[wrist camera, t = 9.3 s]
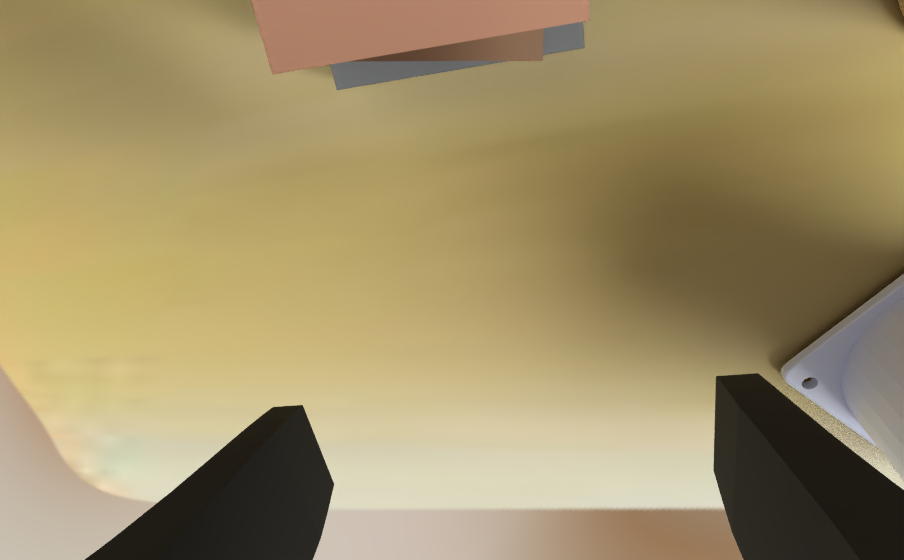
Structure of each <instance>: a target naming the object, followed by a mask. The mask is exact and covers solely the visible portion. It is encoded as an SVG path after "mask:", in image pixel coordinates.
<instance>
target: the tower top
mask: <svg viewBox="0 0 904 560" xmlns="http://www.w3.org/2000/svg"><path fill="white" fill-rule="evenodd" d="M543 39H544V28H542V29H536V30H530V31H524V32H519V33H513V34H507V35H501V36H495V37H489V38H483V39H477V40H471V41H466V42H460V43H454V44H448V45H442V46H436V47H430V48H424V49H419V50H413V51H407V52H401V53H395V54H389V55H383V56H377V57H371V58H366V59H360V60H354V61H348V62H358V61H542V58H543Z"/></svg>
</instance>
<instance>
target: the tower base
mask: <svg viewBox="0 0 904 560" xmlns="http://www.w3.org/2000/svg"><path fill="white" fill-rule="evenodd" d="M581 48H585V47H584V30H583V22H577V23H572V24H566V25H560V26H554V27H548V28H544V39H543V55H546V54H552V53H558V52H564V51H569V50H575V49H581ZM499 62H505V61H358V62H342V63H336V64H331V68H332V72H333V76H334V80H335V84H336V88H337V90H341V89H347V88H352V87H358V86H364V85H370V84H376V83H382V82H388V81H393V80H399V79H405V78H411V77H417V76H423V75H429V74H435V73H440V72H446V71H452V70H458V69H464V68H470V67H476V66H481V65H487V64H493V63H499Z"/></svg>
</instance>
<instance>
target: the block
mask: <svg viewBox="0 0 904 560" xmlns="http://www.w3.org/2000/svg"><path fill="white" fill-rule="evenodd" d="M251 2H252V5H253V9H254V12H255V16H256V19H257V23H258V26H259V29H260V33H261V36H262V40H263V43H264V47H265V50H266V53H267V57H268V60H269V64H270V67H271V71H272V74H277V73H283V72H289V71H295V70H301V69H307V68H313V67H318V66H324V65H330V64H336V63H342V62H348V61H354V60H360V59H366V58H371V57H377V56H383V55H389V54H395V53H401V52H407V51H413V50H419V49H424V48H430V47H436V46H442V45H448V44H454V43H460V42H466V41H471V40H477V39H483V38H489V37H495V36H501V35H507V34H513V33H519V32H524V31H530V30H536V29H542V28H548V27H554V26H560V25H566V24H572V23H577V22H583V21H589V20H590V17H589V0H251Z"/></svg>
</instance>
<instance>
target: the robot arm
mask: <svg viewBox="0 0 904 560" xmlns="http://www.w3.org/2000/svg"><path fill="white" fill-rule="evenodd" d="M781 376H782V377H783V379H784V380H785V381H786V383H787V384H788V385H790V386H791V387H793V388H794V389H796V390H797V391H798V392H800V393H801V394H803V395H804V396H805V397H807V398H808V399H810V400H811V401H812V402H814V403H815V404H817V405H818V406H819V407H821V408H822V409H824V410H825V411H826V412H828V413H829V414H831V415H832V416H833V417H835V418H836V419H838V420H839V421H841V422H842V423H843V424H845V425H846V426H848V427H849V428H850V429H852V430H853V431H855V432H856V433H857V434H859V435H860V436H862V437H863V438H864V439H866V440H867V441H869V442H870V443H871V444H873V445H874V446H876V447H877V448H879V450H880V451H881V452H882V453H883V455H884V456H885V457H886V459H887V460H888V461H889V463H890V464H891V465H892V467H893V468H894V469H895V470H896V472H897V473H898V474H899V476H900V477H901V478H902V480H903V481H904V274H903V275H901V276H900V277H899V278H897V279H896V280H895V281H893V282H892V283H891V284H889V285H888V286H887V287H885V288H884V289H883V290H881V291H880V292H879V293H878V294H876V295H875V296H874V297H872V298H871V299H870V300H868V301H867V302H866V303H864V304H863V305H862V306H860V307H859V308H858V309H856V310H855V311H854V312H853V313H851V314H850V315H849V316H847V317H846V318H845V319H843V320H842V321H841V322H839V323H838V324H837V325H835V326H834V327H833V328H831V329H830V330H829V331H828V332H826V333H825V334H824V335H822V336H821V337H820V338H818V339H817V340H816V341H814V342H813V343H812V344H810V345H809V346H808V347H806V348H805V349H804V350H803V351H801V352H800V353H799V354H797V355H796V356H795V357H793V358H792V359H791V360H789V361H788V362H787V363H786V364H785V365H784V366H783V367H782V369H781ZM812 377H813V378H812ZM807 378H812V379H811V380H810V381H808V382H803V381H804V380H805V379H807ZM714 473H715V476H716V480H717V483H718V487H719V490H720V494H721V497H722V501H723V504H724V507H725V510H726V514H727V517H728V520H729V523H730V526H731V530H732V533H733V535H734V538H735V540H736V542H737V545H738V547H739V550H740V552H741V554H742V557H743V559H744V560H904V490H903V489H902V488H900V487H899V486H897V485H896V484H895V483H893V482H892V481H891V480H890V479H888V478H887V477H886V476H884V475H883V474H882V473H880V472H879V471H878V470H877V469H875V468H874V467H873V466H871V465H870V464H869V463H868V462H866V461H865V460H864V459H862V458H861V457H860V456H858V455H857V454H856V453H855V452H853V451H852V450H851V449H849V448H848V447H847V446H846V445H844V444H843V443H842V442H841V441H839V440H838V439H837V438H836V437H834V436H833V435H832V434H831V433H829V432H828V431H827V430H826V429H825V428H823V427H822V426H821V425H820V424H818V423H817V422H816V421H815V420H814V419H812V418H811V417H810V416H809V415H807V414H806V413H805V412H804V411H803V410H801V409H800V408H799V407H798V406H797V405H795V404H794V403H793V402H792V401H791V400H789V399H788V398H787V397H786V396H785V395H784V394H782V393H781V392H780V391H779V390H778V389H776V388H775V387H774V386H773V385H771V384H770V383H769V382H768V381H767V380H765V379H764V378H763V377H762V376H760V375H759V374H758V373H757V374H742V375H728V376H716V400H715V438H714ZM333 486H334V483H333V480H332V478H331V475H330V473H329V470H328V468H327V465H326V463H325V460H324V458H323V455H322V453H321V450H320V448H319V445H318V443H317V440H316V438H315V435H314V433H313V430H312V428H311V425H310V423H309V420H308V418H307V415H306V413H305V410H304V408H303V405H298V406H283V407H273V408H271V409H270V410H269V411H267V412H266V413H265V414H263V415H262V416H261V417H260V418H258V419H257V420H256V421H255V422H253V423H252V424H251V425H250V426H248V427H247V428H246V429H245V430H244V431H242V432H241V433H240V434H239V435H238V436H237V437H235V438H234V439H233V440H232V441H231V442H229V443H228V444H227V445H226V446H225V447H224V448H222V449H221V450H220V451H219V452H218V453H217V454H215V455H214V456H213V457H212V458H211V459H210V460H208V461H207V462H206V463H205V464H204V465H203V466H201V467H200V468H199V469H198V470H197V471H195V472H194V473H193V474H192V475H191V476H190V477H188V478H187V479H186V480H185V481H184V482H182V483H181V484H180V485H179V486H178V487H177V488H175V489H174V490H173V491H172V492H171V493H169V494H168V495H167V496H166V497H164V498H163V499H162V500H161V501H159V502H158V503H157V504H156V505H154V506H153V507H152V508H151V509H149V510H148V511H147V512H146V513H144V514H143V515H142V516H141V517H139V518H138V519H137V520H136V521H134V522H133V523H132V524H131V525H130V526H128V527H127V528H126V529H124V530H123V531H122V532H121V533H119V534H118V535H117V536H116V537H114V538H113V539H112V540H111V541H109V542H108V543H106V544H105V545H104V546H103V547H101V548H100V549H99V550H97V551H96V552H95V553H93V554H92V555H90V556H89V557H88V558H86V559H85V560H313V557H314V555H315V552H316V549H317V547H318V544H319V541H320V538H321V535H322V531H323V527H324V524H325V520H326V516H327V512H328V508H329V504H330V499H331V495H332V491H333Z"/></svg>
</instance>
